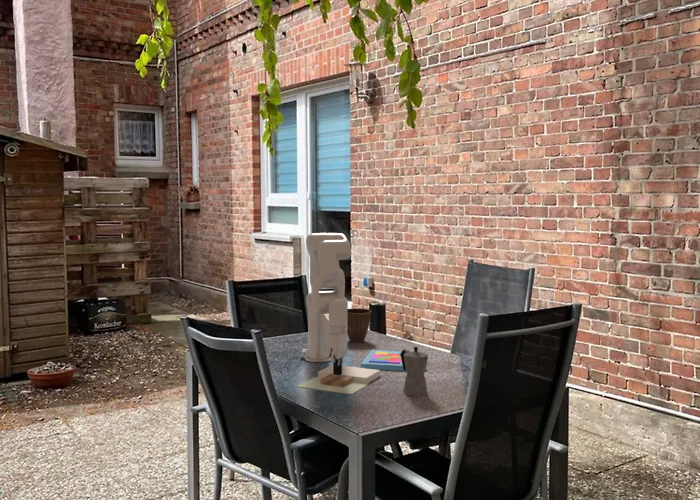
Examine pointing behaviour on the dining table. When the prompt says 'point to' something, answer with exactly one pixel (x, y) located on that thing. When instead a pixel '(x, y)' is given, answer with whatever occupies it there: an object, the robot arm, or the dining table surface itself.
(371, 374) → the board
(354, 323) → the plant pot
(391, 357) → the tetris game
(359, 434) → the dining table surface
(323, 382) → the tile
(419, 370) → the coffeepot
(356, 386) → the mat
